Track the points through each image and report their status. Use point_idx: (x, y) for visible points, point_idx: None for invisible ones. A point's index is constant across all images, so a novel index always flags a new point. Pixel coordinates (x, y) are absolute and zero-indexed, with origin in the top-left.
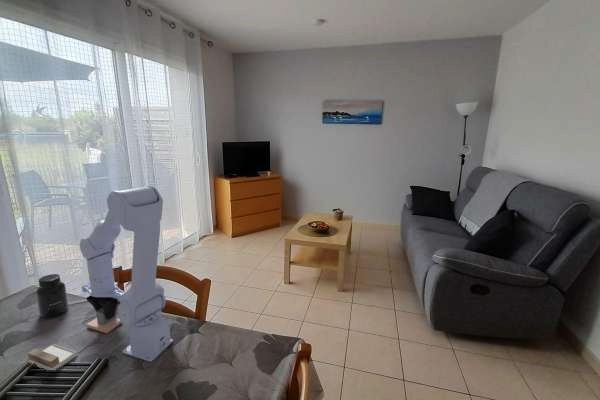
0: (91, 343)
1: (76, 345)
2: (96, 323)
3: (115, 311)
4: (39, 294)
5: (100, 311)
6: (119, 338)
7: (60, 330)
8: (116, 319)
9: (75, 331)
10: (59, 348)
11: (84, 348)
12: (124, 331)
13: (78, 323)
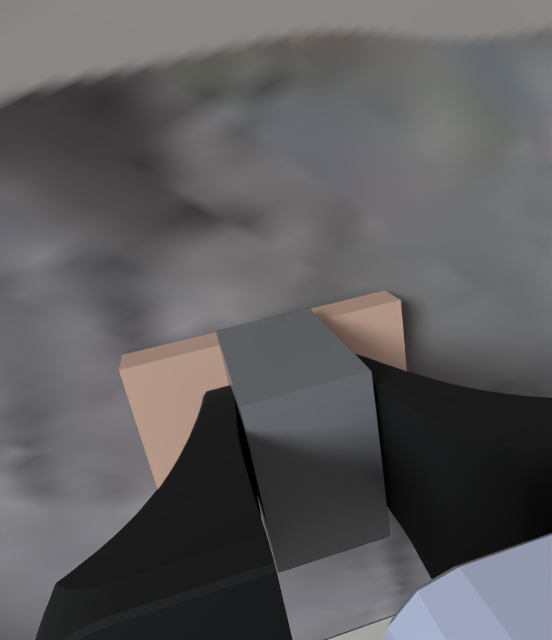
0: (393, 527)
1: (323, 590)
2: None
3: (334, 337)
4: None
5: (337, 541)
6: (524, 395)
7: (12, 631)
8: (351, 329)
9: None
10: None
11: (399, 566)
12: (494, 336)
13: (23, 522)
